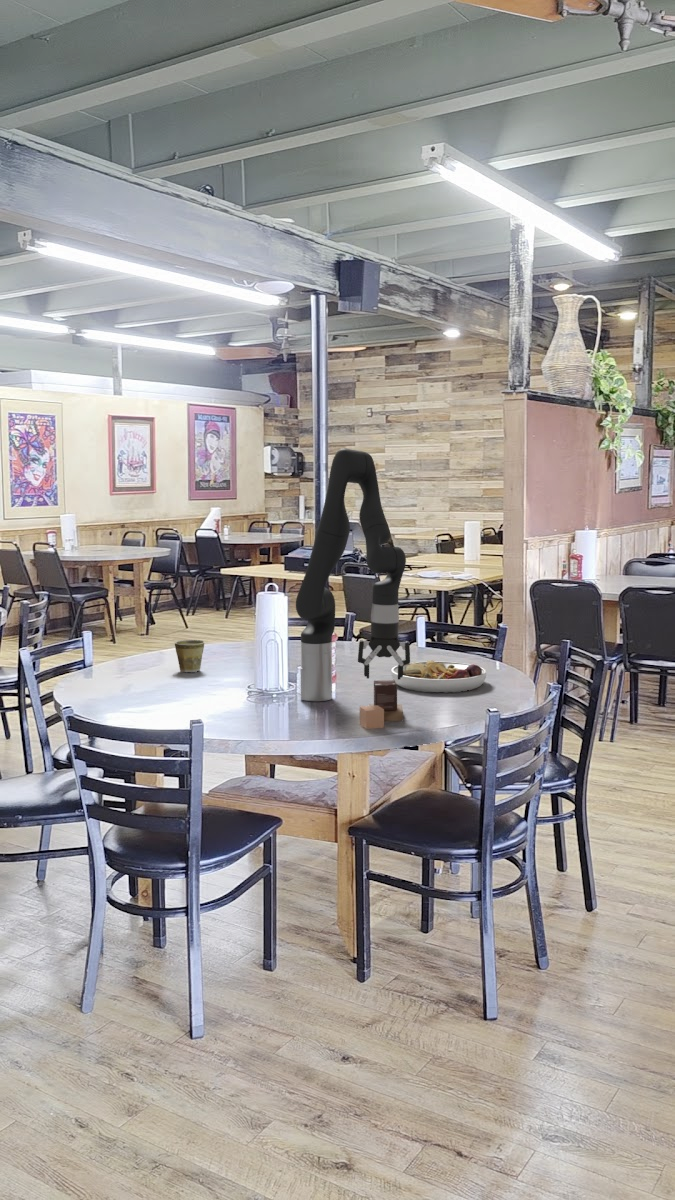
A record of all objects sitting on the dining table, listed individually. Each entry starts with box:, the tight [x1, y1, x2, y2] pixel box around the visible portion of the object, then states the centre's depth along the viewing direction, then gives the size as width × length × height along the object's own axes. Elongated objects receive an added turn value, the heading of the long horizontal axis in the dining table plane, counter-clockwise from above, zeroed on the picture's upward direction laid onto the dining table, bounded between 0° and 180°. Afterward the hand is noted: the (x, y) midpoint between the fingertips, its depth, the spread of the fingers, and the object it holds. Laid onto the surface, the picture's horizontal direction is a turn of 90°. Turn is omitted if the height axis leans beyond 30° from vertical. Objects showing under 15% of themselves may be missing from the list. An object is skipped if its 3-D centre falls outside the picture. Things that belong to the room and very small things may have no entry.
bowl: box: [391, 660, 487, 693], centre depth 320 cm, size 30×30×8 cm
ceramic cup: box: [174, 639, 205, 673], centre depth 345 cm, size 13×10×10 cm
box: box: [373, 679, 398, 711], centre depth 276 cm, size 6×6×7 cm
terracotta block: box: [359, 704, 385, 730], centre depth 267 cm, size 5×5×5 cm
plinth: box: [368, 704, 404, 722], centre depth 277 cm, size 9×9×3 cm
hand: (383, 678), depth 276 cm, fingers open, 8 cm apart
